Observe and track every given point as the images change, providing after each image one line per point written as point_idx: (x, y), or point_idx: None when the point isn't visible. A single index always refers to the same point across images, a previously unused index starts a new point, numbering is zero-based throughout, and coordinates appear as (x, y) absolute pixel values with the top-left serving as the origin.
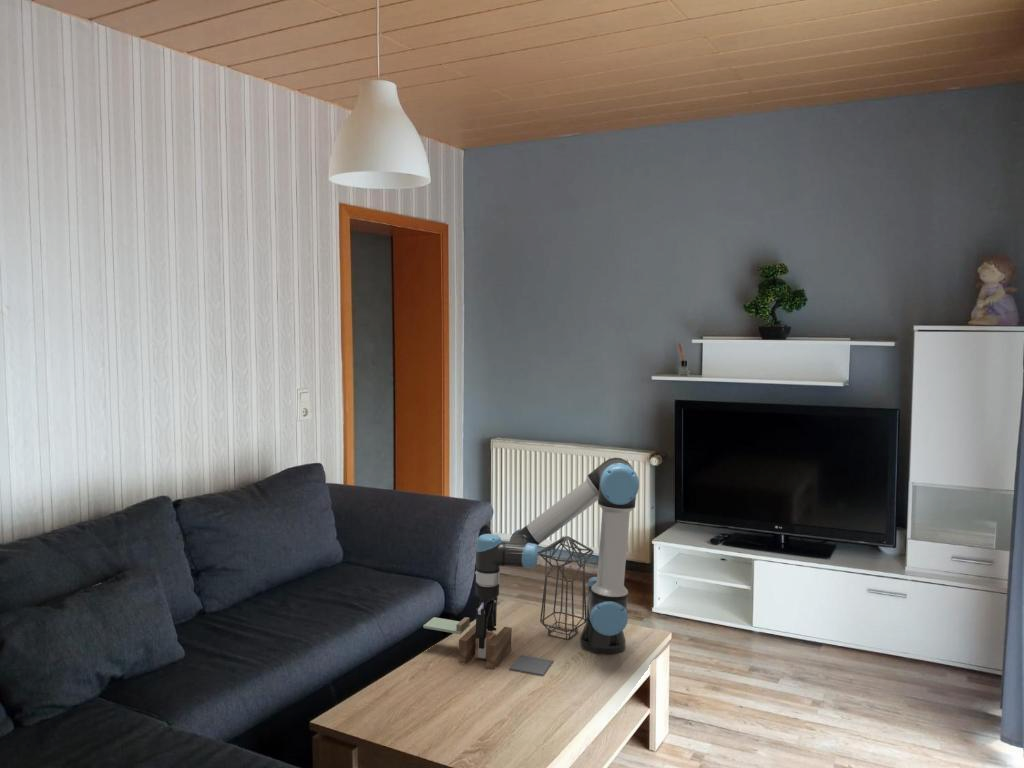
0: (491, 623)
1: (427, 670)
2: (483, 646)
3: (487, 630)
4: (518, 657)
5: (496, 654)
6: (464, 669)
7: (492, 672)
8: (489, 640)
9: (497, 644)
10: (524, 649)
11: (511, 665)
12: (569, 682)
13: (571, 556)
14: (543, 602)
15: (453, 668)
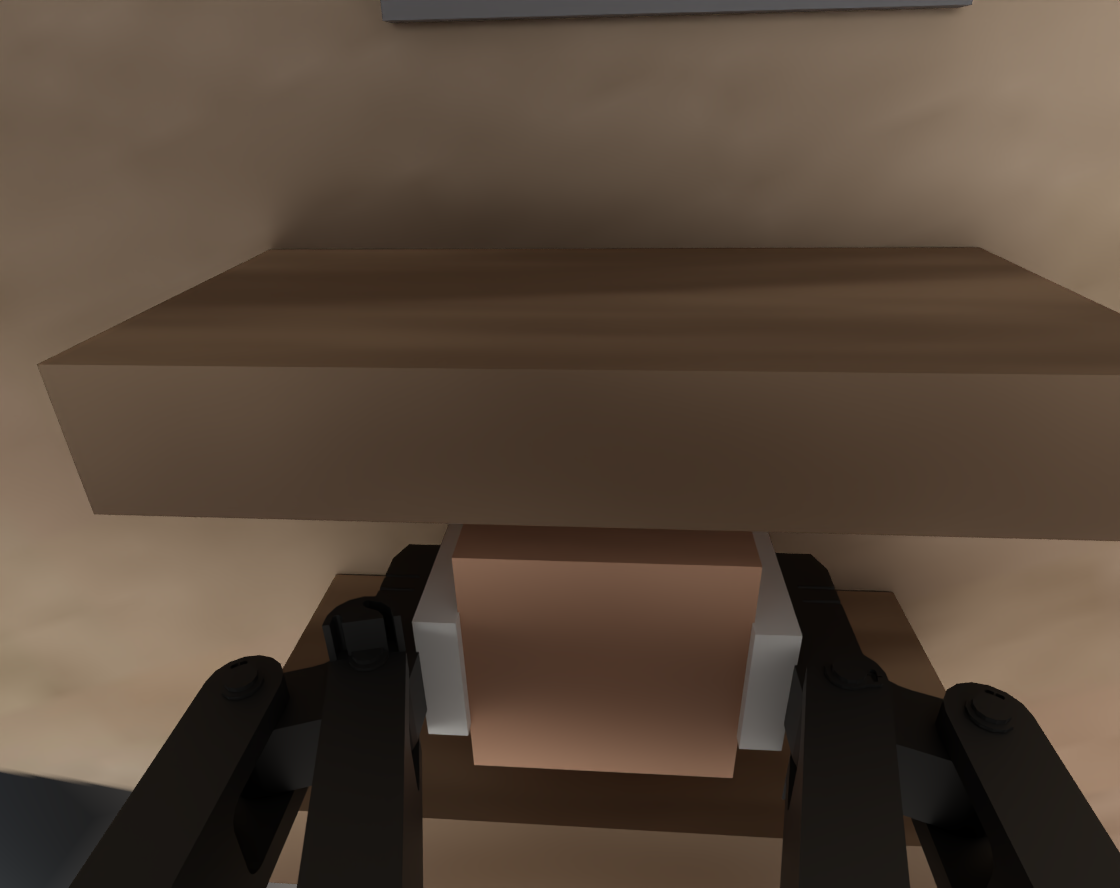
0: (406, 790)
1: (1113, 815)
2: (795, 573)
3: (429, 707)
4: (506, 12)
5: (971, 297)
6: (1038, 562)
7: (1085, 230)
8: (756, 563)
9: (1014, 360)
10: (130, 63)
11: (855, 7)
12: None
13: None
14: None
15: (1030, 657)
